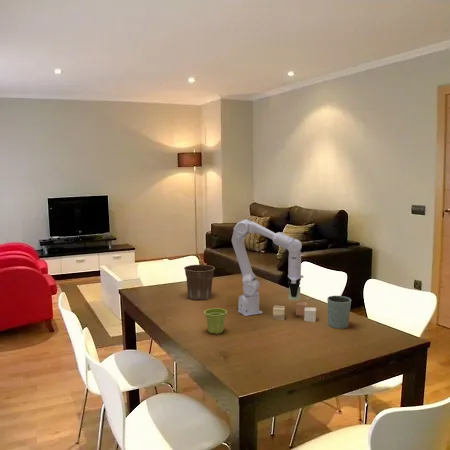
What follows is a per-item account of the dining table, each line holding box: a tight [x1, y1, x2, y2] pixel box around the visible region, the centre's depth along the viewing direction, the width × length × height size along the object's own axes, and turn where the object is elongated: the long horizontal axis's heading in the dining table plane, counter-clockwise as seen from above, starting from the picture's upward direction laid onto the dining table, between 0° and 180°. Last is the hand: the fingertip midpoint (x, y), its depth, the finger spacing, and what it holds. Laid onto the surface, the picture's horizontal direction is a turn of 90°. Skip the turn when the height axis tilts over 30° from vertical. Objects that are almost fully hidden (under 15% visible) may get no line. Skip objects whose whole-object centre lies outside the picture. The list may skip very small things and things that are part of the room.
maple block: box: [272, 305, 286, 321], centre depth 211 cm, size 5×5×5 cm
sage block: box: [288, 286, 301, 301], centre depth 212 cm, size 5×5×5 cm
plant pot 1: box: [184, 264, 216, 301], centre depth 244 cm, size 16×16×16 cm
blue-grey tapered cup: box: [326, 295, 352, 330], centre depth 199 cm, size 10×10×12 cm
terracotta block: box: [295, 301, 308, 317], centre depth 216 cm, size 5×5×5 cm
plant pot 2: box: [203, 307, 228, 335], centre depth 193 cm, size 9×9×9 cm
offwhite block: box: [303, 306, 317, 323], centre depth 208 cm, size 5×5×5 cm
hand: (294, 295), depth 212 cm, fingers closed on sage block, 5 cm apart
